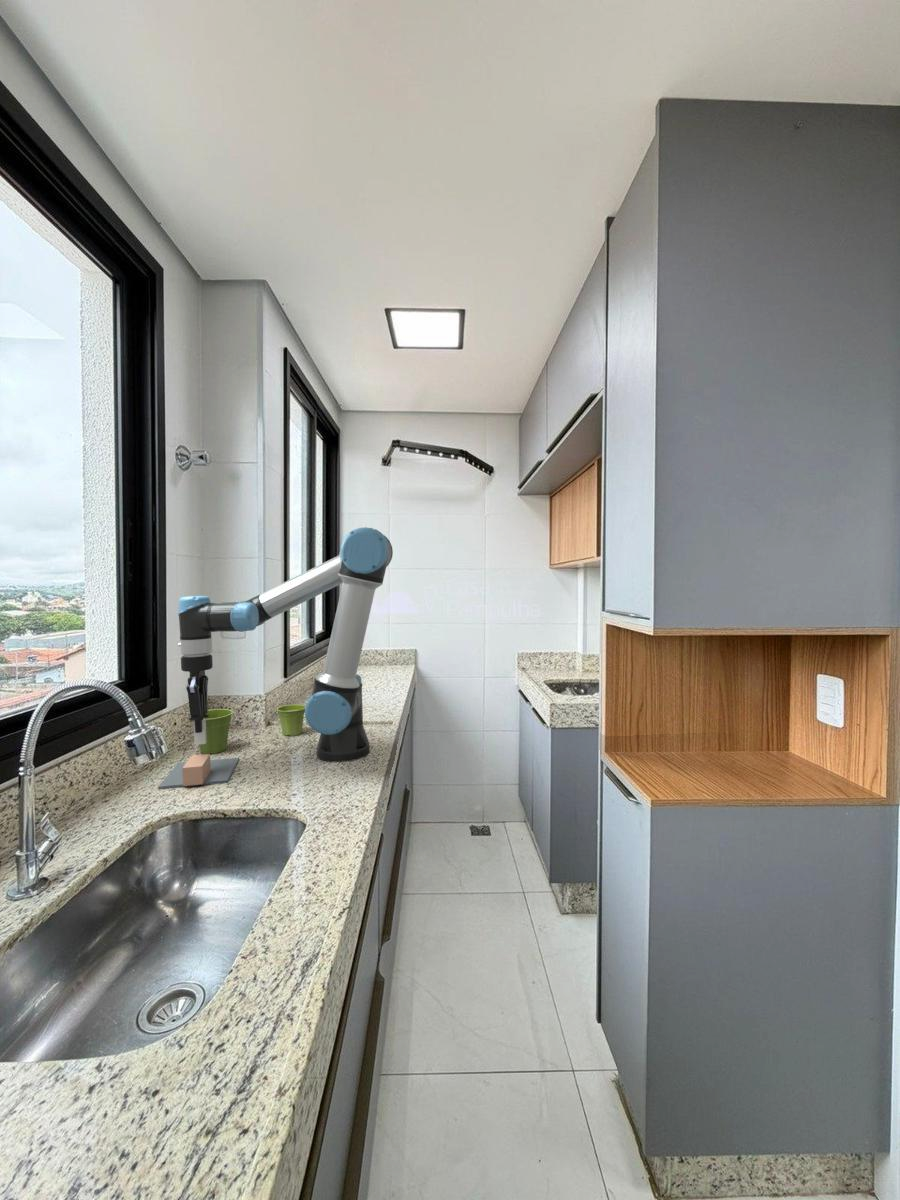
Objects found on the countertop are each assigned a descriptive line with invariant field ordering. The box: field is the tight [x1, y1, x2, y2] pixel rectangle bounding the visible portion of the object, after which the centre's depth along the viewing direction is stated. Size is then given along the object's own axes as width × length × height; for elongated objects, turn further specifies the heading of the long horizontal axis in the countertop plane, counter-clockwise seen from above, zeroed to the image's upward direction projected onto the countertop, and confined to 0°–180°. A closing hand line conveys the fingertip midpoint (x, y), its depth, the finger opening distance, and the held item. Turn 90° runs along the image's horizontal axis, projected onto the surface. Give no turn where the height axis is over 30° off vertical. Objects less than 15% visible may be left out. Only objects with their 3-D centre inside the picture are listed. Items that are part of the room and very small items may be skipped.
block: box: [182, 753, 211, 787], centre depth 140 cm, size 4×4×10 cm
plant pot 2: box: [276, 704, 306, 737], centre depth 181 cm, size 9×9×9 cm
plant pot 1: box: [189, 708, 234, 754], centre depth 164 cm, size 12×12×11 cm
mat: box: [157, 757, 240, 790], centre depth 145 cm, size 16×18×1 cm
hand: (200, 743), depth 145 cm, fingers closed
